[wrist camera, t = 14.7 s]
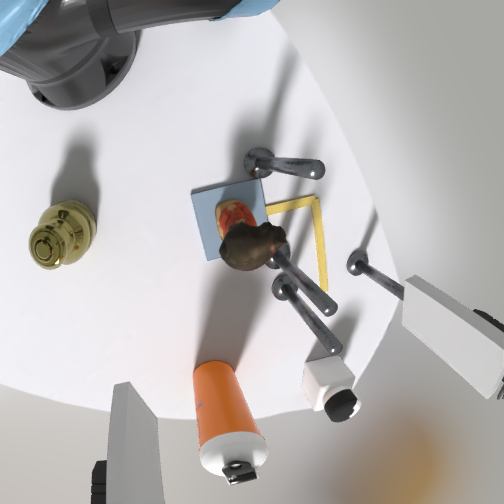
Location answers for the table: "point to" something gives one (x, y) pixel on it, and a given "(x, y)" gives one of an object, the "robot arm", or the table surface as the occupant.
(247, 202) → the pad
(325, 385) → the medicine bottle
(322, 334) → the gate
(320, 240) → the guide line
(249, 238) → the figurine
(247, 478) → the shaker bottle
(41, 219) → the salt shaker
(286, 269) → the gate
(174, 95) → the table surface
